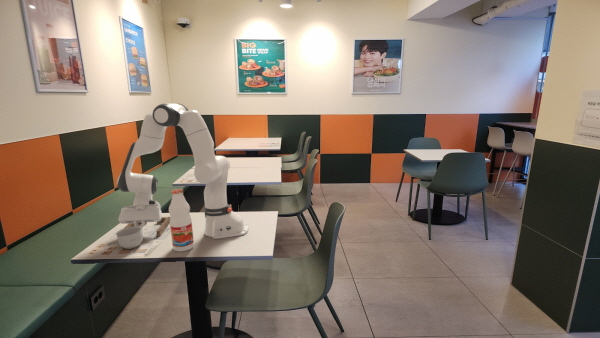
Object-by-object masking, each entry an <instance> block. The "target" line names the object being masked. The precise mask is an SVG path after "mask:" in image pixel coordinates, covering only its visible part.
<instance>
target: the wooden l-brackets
mask: <svg viewBox="0 0 600 338" xmlns="http://www.w3.org/2000/svg"><path fill="white" fill-rule="evenodd" d="M170 217H171V216H163V217H162V218H161V220H160V221H159V222H156V224H161V225H160V226H159V227H158V229H157V230H156V237H161V236H162V235H163V233H164V232H165V231H166V229H167V227H168V226H169V225H170ZM147 223H148V222H145V225H147ZM141 224H142V223H138V225H139V226H140V225H141ZM128 227H134V224H133V223H127V224H126V225H125V226H124V228H123V229H125V228H128Z"/></svg>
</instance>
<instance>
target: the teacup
mask: <svg viewBox="0 0 600 338" xmlns="http://www.w3.org/2000/svg"><path fill="white" fill-rule="evenodd" d="M139 226H140V225H135V226H134V227H128V228H125V229H120V230H119V231H117V232H116V239H117V242H118V244H119V246H120V248H124V249H125V250H131V249H135V248H137V247H139V246H140V244H141V243H142V242H143V240H144V236H143V227H142V228H141V227H139Z"/></svg>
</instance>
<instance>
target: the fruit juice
mask: <svg viewBox="0 0 600 338" xmlns="http://www.w3.org/2000/svg"><path fill="white" fill-rule="evenodd" d="M171 195H172V197H171V201H170V204H169V206H168V213H169V217H170V224H169V225H170V227H169V228H170V234H171V235H170V237H171V243H172V249H173V250H174V252H181V253H182V252H186V251H190V250H191V249H193V248H194V245H195V240H194V231H193V224H192V216H191V214H190V212H191V206H190V204H189V203H188V202H187V200H186V197H185V196H184V189H182V188H175V189H172V190H171Z"/></svg>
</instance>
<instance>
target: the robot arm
mask: <svg viewBox="0 0 600 338" xmlns="http://www.w3.org/2000/svg"><path fill="white" fill-rule="evenodd" d="M177 126H178V127H180V128H181V129H182V131H183V133H184V134H185V138H186V140H187V142H188V144H189V146H190V149H191V152H192V155H193V160H194V161H193V162H194V171H193V175H194V178H195V179H196V181H198V182H199V183H201V184H205V187H204V190H203V198H204V199H203V200H204V207H203V212H204V218H205V227H204V232H203V234H204V235H205V236H206V237H209V238H212V239H214V240H217V239H226V238H231V237H233V238H234V237H238V236H244V235H246V234H247V233H248V232H249V225H248V224H247V223H245V222H244V219H243V217H242V215H240V214H238V213H237V212H234V210H233V208H232V204H228V198H227V197H228V196H227V186H228V177H229V176H228V175H229V174H228V173H229V171H230V167H231V164H230V161H229V159H228V158H227V157H226V156H225V155H216V154H215V142H214V140H213V137H212V135H211V133H210V131H209V128H208V126H207V124H206V122H205V119H204V118H203V117H202V115H201V114H200V112H199V111H198V110H196V109H188V107H187V106H185V105H184V104H181V103H173V102H167V103H161V104H159V105H157V106H155V107H154V108H153V110H152V112H149V113H147V114H146V115H145V116H144V118H143V121H142V124H141V129H140V135H139V138H138V139H137V140H136V141H134V142H132V144H131V145H130V147H129V149H128V152H127V154H126V157H125V160H124V164H123V166H122V169H121V172H120V174H119V176H118V178H117V181H116V187H117V189H119V190H120V191H121V192H122V193H135V197H134V198H133V204H132V205H129V206H127V205H124V206H123V207H122V208H121V209H120V213H119V216H118V222H119V223H120V224H121V225H122V224H123V225H128V224H129V223H133V224H134V226H135V225H138V223H142V224H141V225H139V227H141V228H142V229H143V227H145V225H146V224H145V222H147V223H155V222H156V223H157V222H159V221H160V220H161V218H162V214H163V213H162V207H161V204H160V203H159V202H158V201H157V200H153V196H154V195H155V194H156V193H157V189H158V184H159V181H158V179H157V177H156V176H155V175H152V174H145V173H144V174H143V173H135V172H132V169H133V166H134V163H135V160H136V159H137V158H138V157H140V156H143V155H144V156H145V155H148V154H154V153H156V152H158V151H160V150H161V149H162V148H163V145H164V142H165V136H166V132H167V131H166V130H167V128H169V127H177Z"/></svg>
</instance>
